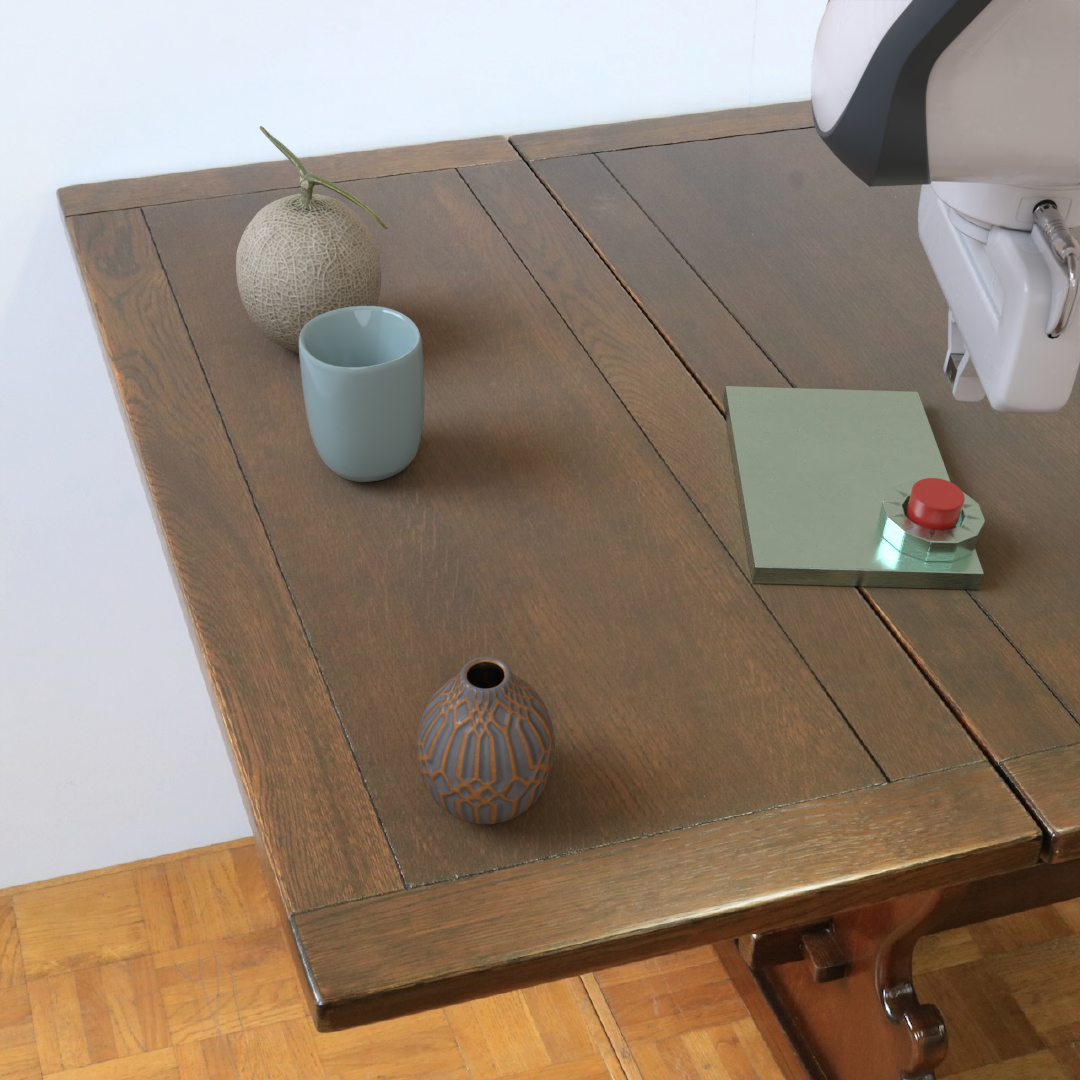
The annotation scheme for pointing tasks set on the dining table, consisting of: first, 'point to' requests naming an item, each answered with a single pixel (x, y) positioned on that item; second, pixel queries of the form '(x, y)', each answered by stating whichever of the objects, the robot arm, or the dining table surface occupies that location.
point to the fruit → (305, 259)
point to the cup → (363, 390)
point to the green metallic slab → (843, 490)
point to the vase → (485, 744)
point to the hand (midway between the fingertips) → (962, 388)
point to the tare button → (935, 504)
